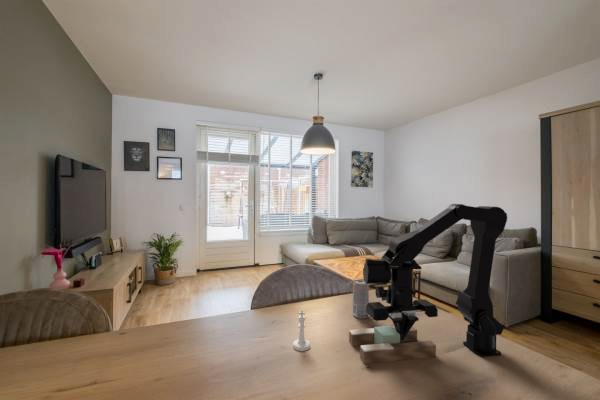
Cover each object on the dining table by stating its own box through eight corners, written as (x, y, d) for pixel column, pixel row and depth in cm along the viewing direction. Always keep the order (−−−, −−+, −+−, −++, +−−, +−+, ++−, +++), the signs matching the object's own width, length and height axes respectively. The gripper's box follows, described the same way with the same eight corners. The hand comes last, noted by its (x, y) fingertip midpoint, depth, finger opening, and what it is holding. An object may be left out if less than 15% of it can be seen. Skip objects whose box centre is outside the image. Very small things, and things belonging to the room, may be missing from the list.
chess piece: (308, 352, 71) (309, 314, 71) (290, 349, 72) (291, 313, 72) (311, 342, 76) (312, 307, 76) (294, 340, 77) (295, 306, 77)
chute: (412, 336, 80) (412, 325, 80) (435, 356, 70) (436, 344, 70) (349, 341, 77) (349, 330, 77) (363, 363, 66) (364, 350, 66)
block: (390, 343, 76) (390, 325, 76) (399, 353, 71) (400, 334, 71) (374, 344, 75) (374, 326, 75) (382, 354, 70) (382, 335, 70)
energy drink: (367, 312, 96) (367, 279, 96) (369, 319, 91) (369, 284, 91) (352, 312, 97) (352, 279, 97) (353, 318, 92) (354, 283, 92)
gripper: (415, 274, 83) (414, 324, 83) (358, 276, 80) (358, 328, 80) (439, 286, 72) (438, 343, 72) (375, 289, 69) (374, 349, 69)
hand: (400, 340), depth 74 cm, fingers closed
